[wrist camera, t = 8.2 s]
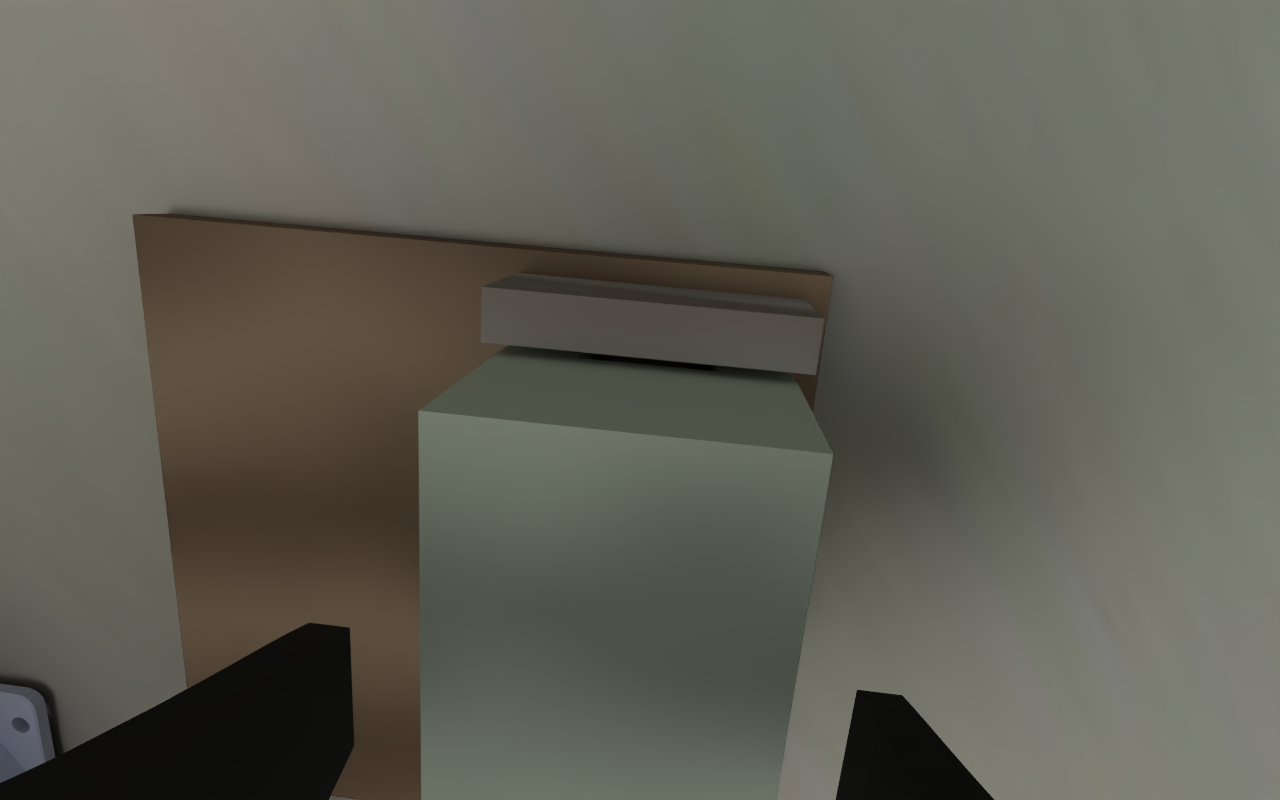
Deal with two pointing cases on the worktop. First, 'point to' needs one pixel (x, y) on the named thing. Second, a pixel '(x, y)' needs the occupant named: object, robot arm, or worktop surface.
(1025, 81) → the worktop surface
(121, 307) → the worktop surface
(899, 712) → the robot arm
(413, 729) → the cleat board
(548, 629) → the cabinet block
